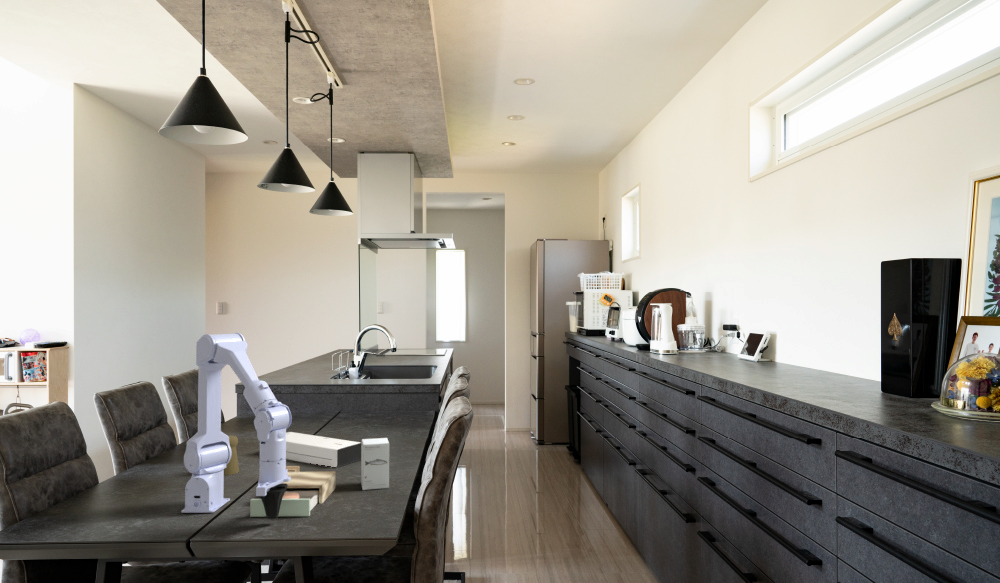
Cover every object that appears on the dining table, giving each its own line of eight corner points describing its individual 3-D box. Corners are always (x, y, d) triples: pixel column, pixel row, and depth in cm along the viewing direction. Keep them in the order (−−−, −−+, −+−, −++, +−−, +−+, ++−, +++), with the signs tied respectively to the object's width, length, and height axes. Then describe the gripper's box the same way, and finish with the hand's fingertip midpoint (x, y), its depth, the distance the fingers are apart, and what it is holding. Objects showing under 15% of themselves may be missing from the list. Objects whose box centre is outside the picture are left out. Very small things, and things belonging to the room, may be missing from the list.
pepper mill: (230, 476, 178) (231, 438, 178) (212, 474, 179) (213, 437, 179) (243, 470, 183) (243, 434, 184) (225, 469, 185) (226, 433, 185)
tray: (309, 516, 143) (309, 499, 143) (250, 516, 143) (250, 500, 143) (324, 498, 156) (324, 483, 156) (270, 498, 156) (270, 483, 156)
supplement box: (362, 490, 163) (362, 444, 163) (360, 483, 170) (361, 438, 171) (389, 488, 165) (389, 442, 165) (387, 481, 172) (387, 436, 172)
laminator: (362, 461, 195) (362, 442, 195) (335, 470, 185) (335, 450, 185) (290, 449, 212) (290, 431, 212) (261, 456, 201) (261, 438, 202)
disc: (295, 507, 146) (295, 499, 146) (272, 508, 146) (272, 500, 146) (301, 500, 152) (301, 492, 152) (279, 500, 151) (279, 492, 151)
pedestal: (294, 484, 169) (294, 469, 170) (280, 484, 169) (280, 469, 169) (299, 479, 173) (299, 466, 173) (285, 480, 173) (285, 466, 173)
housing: (322, 503, 153) (322, 485, 153) (263, 503, 153) (263, 485, 153) (335, 488, 166) (335, 471, 166) (281, 488, 165) (281, 471, 165)
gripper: (278, 467, 132) (278, 529, 131) (300, 451, 146) (300, 507, 146) (246, 467, 132) (246, 529, 131) (271, 451, 146) (270, 507, 146)
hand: (272, 517), depth 139 cm, fingers closed
